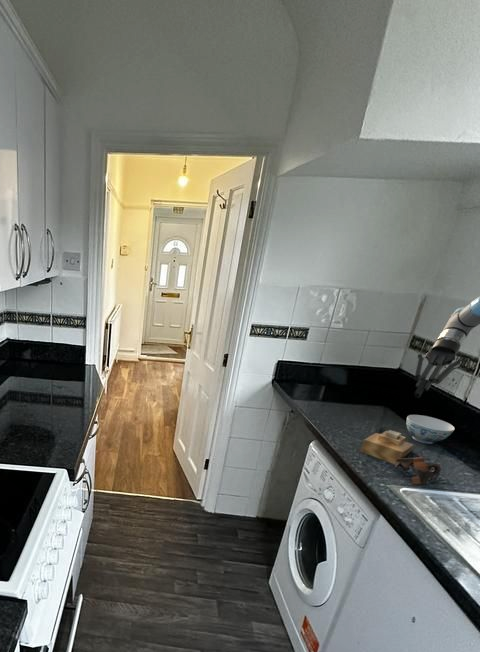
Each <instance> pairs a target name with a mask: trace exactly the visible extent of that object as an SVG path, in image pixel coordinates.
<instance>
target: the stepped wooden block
mask: <svg viewBox="0 0 480 652" xmlns="http://www.w3.org/2000/svg"><path fill="white" fill-rule="evenodd" d="M386 432H388V430H386V431H383V432H382V433H378V432H375V433H373V434H372V435H369V436H368V437H366V438H365V439H363V443H362V445H361V449H360V451H359V452H361V453H364V454H366V455H369V456H372V457H374V458H376V459H379V460H382V461H385V462H387V463H390V464H393V465H394V464H395V463H396V460H395V459H398V458H406V456H407V455H409V454H410V453H411V452H412V450H413V447H414V444H413V443H410V442H407V441H406V439H407V437H406V436H403V435H401V436H400V438H399V439H394V438H391V437H387V436H385V435H386Z"/></svg>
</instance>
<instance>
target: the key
mask: <svg viewBox="0 0 480 652" xmlns="http://www.w3.org/2000/svg"><path fill="white" fill-rule="evenodd" d="M385 436H387V437H391V438H394V439H399V438H400V436H402V433H401V432H398V431H395V430H391V429H389V430H387V432H386V435H385Z"/></svg>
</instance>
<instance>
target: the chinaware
mask: <svg viewBox="0 0 480 652" xmlns="http://www.w3.org/2000/svg"><path fill="white" fill-rule="evenodd" d="M406 428H407V431H408V433H409V434H410V435H411V437H412V439H413V440H415V441H417V442H420V443H422V444H427V445H432V444H434V443H436V442H441V441H443V440H445V439H447V438H448V437H449V436H450V435H452V433H454V431H455V426H453V425H452V424H451V423H449V422H447V421H445V420H442V419H439V418H436V417H432V416H428V415H423V414H422V415H420V414H409V415H407V417H406Z"/></svg>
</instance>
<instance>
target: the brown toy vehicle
mask: <svg viewBox="0 0 480 652" xmlns="http://www.w3.org/2000/svg"><path fill="white" fill-rule="evenodd" d="M395 460H396V463H395V464H393V466H394V467H395V468H396V469H398V468H399V467H401V468H402V470H403V471H409V470H410V469H411V467H410V466H411V465H413V468H414V470H415V471H417V472H418V475H417V476H411V477H410V478H411V479H410V480H411V484H412V485H426V484H428V482H429V480H430V478H434V477H437V476H438V475H439V474H440V473H441V472H442V468H441V466H440V464H438V463H435V462H427V461H425V460H424V457H422V456H421V457H420V456H419V457H418V456H417V457H405V458H398V459H395ZM432 468H433V469H434V470H433V471H431V472H430V470H431V469H432Z"/></svg>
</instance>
